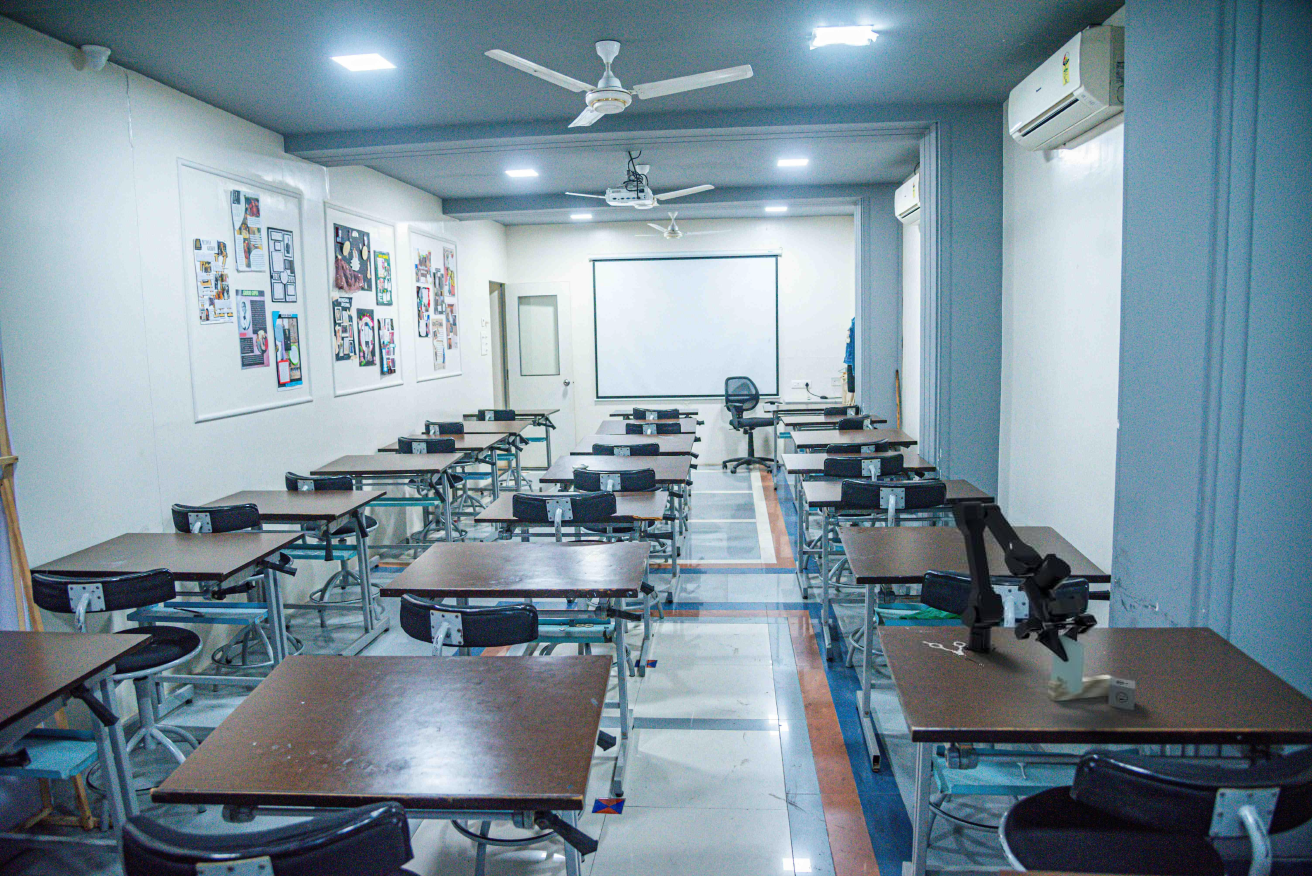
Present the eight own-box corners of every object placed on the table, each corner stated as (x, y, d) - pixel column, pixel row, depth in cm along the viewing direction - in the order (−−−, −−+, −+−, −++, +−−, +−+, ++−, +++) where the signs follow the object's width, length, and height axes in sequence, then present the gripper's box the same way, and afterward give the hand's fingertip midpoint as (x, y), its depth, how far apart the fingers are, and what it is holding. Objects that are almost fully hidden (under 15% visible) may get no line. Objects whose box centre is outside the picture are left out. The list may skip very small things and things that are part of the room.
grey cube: (1108, 697, 198) (1109, 677, 198) (1133, 702, 196) (1134, 681, 196) (1108, 705, 194) (1109, 684, 193) (1133, 710, 192) (1135, 688, 191)
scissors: (958, 639, 236) (999, 665, 216) (958, 642, 236) (999, 668, 217) (922, 641, 234) (960, 668, 215) (922, 644, 234) (960, 671, 215)
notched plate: (1051, 681, 201) (1053, 635, 200) (1060, 680, 202) (1062, 634, 200) (1072, 693, 194) (1075, 646, 193) (1081, 692, 195) (1084, 645, 194)
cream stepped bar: (1053, 701, 196) (1054, 684, 196) (1047, 697, 198) (1048, 680, 198) (1113, 694, 200) (1114, 677, 200) (1106, 691, 202) (1107, 674, 201)
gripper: (1025, 585, 197) (1055, 648, 187) (1094, 580, 201) (1127, 642, 192) (1001, 608, 205) (1029, 670, 196) (1068, 602, 210) (1099, 663, 200)
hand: (1072, 660), depth 196 cm, fingers closed on notched plate, 2 cm apart
